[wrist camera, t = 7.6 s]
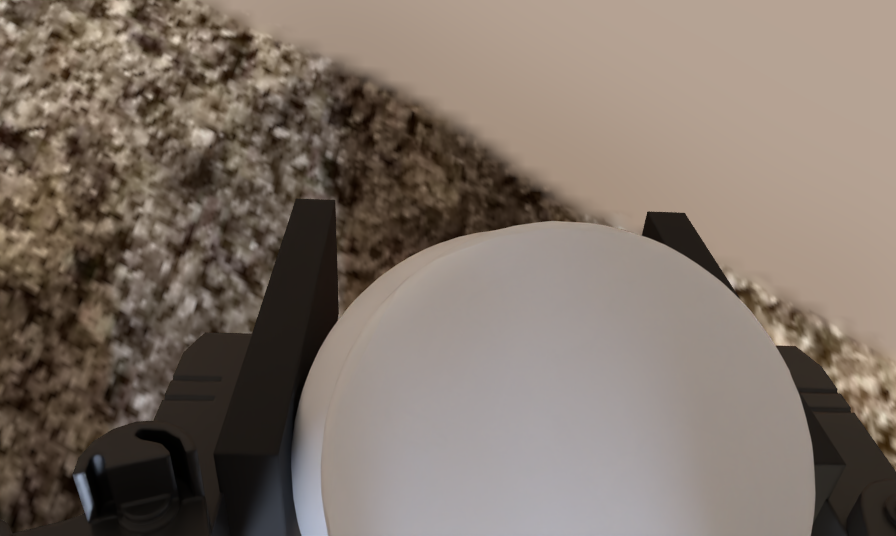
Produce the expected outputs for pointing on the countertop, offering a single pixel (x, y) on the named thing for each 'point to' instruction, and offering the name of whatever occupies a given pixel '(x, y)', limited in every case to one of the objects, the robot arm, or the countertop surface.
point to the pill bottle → (550, 398)
